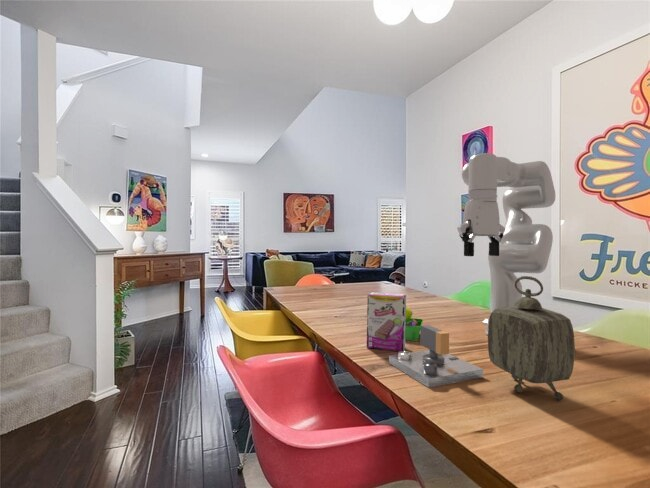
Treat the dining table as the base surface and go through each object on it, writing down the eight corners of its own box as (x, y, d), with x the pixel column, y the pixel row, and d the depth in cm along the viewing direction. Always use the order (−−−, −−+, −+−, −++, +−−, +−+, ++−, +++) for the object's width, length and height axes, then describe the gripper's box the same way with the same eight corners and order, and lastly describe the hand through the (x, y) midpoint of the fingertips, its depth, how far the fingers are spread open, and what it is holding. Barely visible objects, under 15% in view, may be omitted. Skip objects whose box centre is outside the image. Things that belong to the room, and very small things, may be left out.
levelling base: (388, 363, 89) (389, 348, 89) (437, 355, 95) (437, 341, 95) (428, 387, 74) (428, 369, 74) (482, 377, 80) (483, 360, 80)
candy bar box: (366, 348, 101) (366, 294, 100) (369, 343, 105) (369, 291, 105) (404, 352, 97) (404, 296, 97) (405, 347, 102) (406, 293, 102)
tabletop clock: (574, 403, 67) (576, 279, 67) (539, 410, 65) (541, 281, 64) (514, 375, 81) (515, 272, 81) (483, 379, 78) (485, 273, 78)
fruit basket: (421, 342, 107) (421, 307, 107) (393, 339, 110) (393, 305, 110) (423, 333, 118) (423, 301, 118) (397, 331, 121) (397, 299, 120)
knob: (432, 354, 89) (432, 324, 89) (453, 365, 81) (453, 332, 81) (415, 356, 87) (415, 325, 87) (435, 367, 79) (435, 334, 79)
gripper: (493, 200, 104) (492, 255, 104) (449, 197, 98) (449, 255, 98) (515, 197, 97) (514, 256, 97) (469, 194, 91) (468, 257, 91)
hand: (481, 255), depth 98 cm, fingers open, 9 cm apart
